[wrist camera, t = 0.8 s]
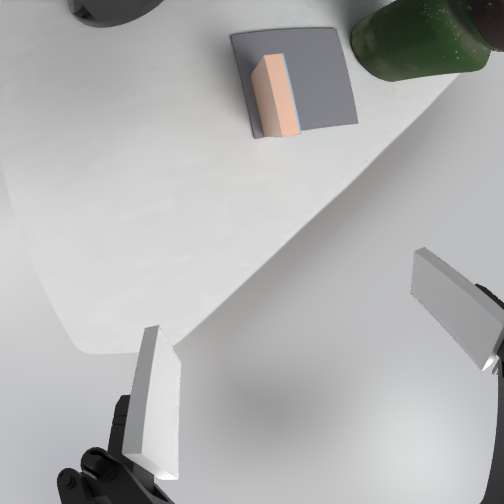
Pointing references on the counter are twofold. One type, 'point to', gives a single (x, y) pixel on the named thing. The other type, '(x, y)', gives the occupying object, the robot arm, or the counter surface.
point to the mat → (301, 74)
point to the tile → (275, 97)
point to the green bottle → (429, 37)
